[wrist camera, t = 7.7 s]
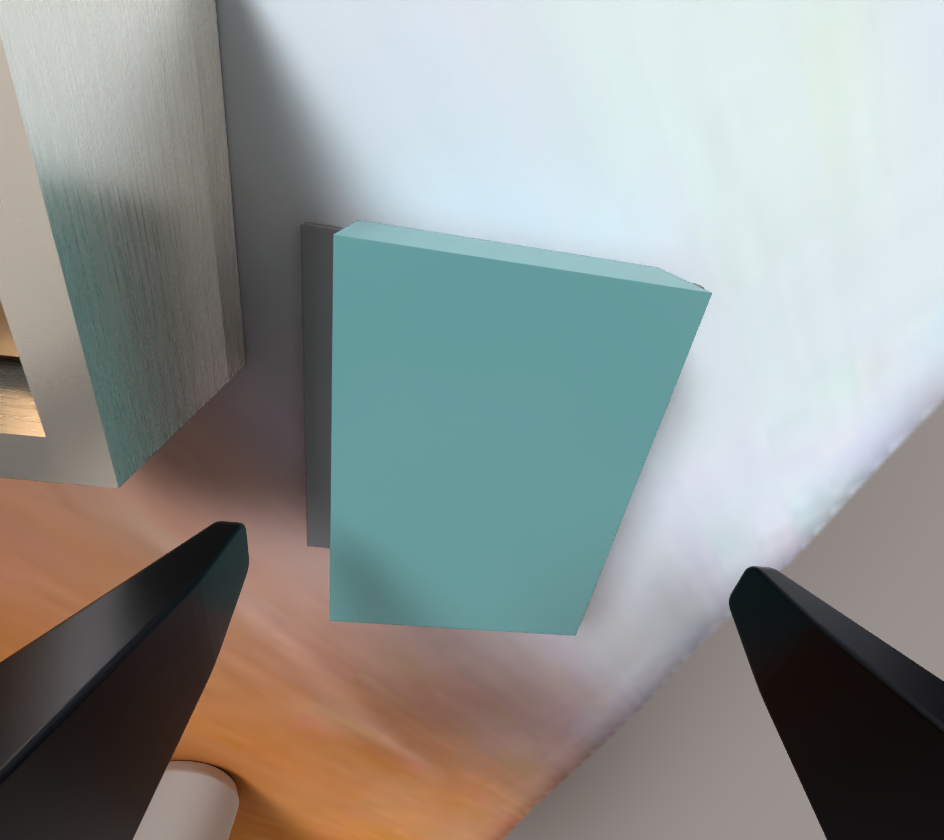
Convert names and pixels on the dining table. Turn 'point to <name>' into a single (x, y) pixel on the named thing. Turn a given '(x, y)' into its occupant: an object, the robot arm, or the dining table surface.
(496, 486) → the lid
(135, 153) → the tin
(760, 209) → the dining table surface
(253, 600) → the dining table surface
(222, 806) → the beverage can
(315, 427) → the coaster
